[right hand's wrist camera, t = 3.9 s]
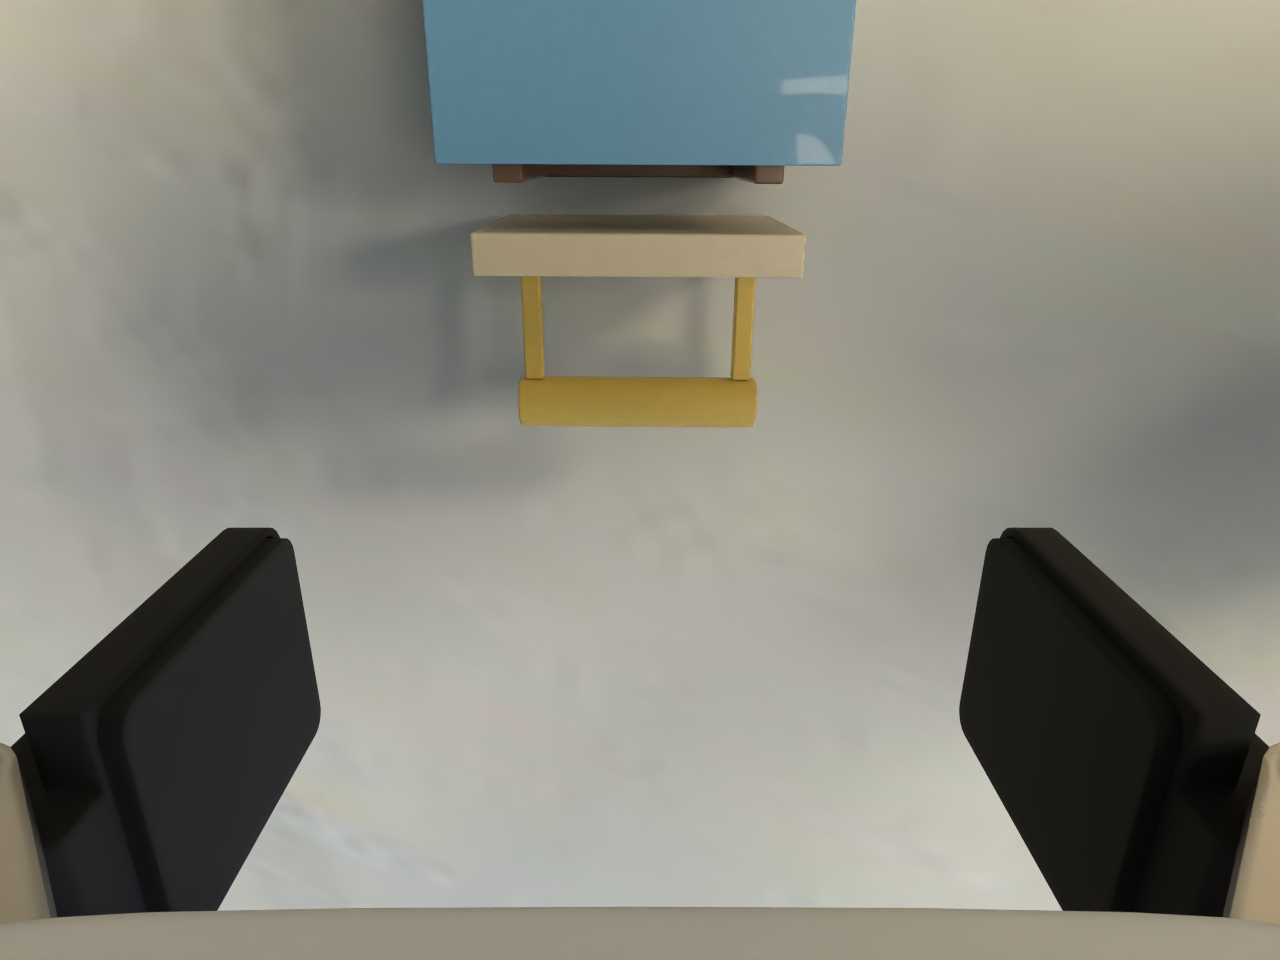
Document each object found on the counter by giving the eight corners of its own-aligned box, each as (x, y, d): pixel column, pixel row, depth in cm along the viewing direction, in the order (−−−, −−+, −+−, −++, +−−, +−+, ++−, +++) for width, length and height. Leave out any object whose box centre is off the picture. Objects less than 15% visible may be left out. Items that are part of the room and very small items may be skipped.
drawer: (758, 394, 32) (789, 457, 25) (517, 392, 32) (484, 456, 25) (805, -370, 24) (868, -575, 17) (478, -371, 24) (414, -578, 17)
